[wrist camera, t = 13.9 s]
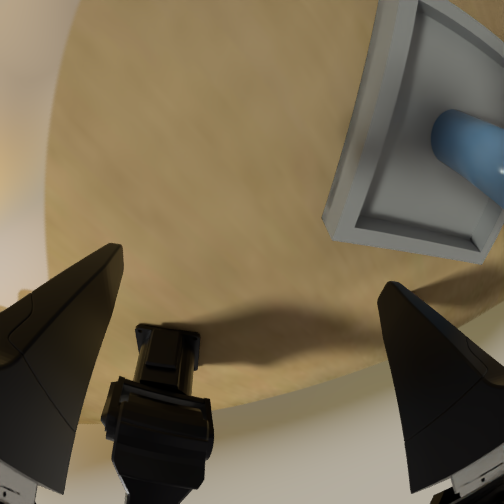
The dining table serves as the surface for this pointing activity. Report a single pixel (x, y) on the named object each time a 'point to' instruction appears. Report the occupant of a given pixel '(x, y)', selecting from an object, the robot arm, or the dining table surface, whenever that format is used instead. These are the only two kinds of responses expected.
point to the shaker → (471, 150)
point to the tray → (418, 135)
